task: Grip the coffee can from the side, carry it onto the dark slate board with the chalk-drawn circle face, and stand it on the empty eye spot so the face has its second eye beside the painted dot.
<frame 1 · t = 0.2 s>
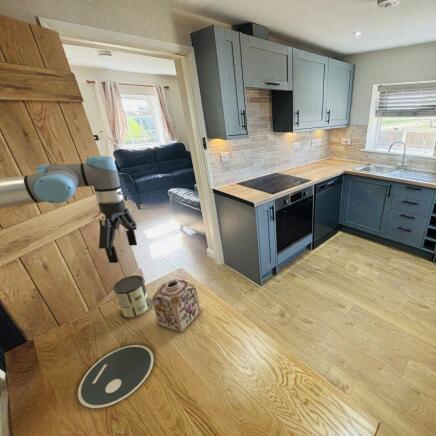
hand: (124, 253, 92), 27 cm above the table, tool pointing down, fingers open, 13 cm apart
coffee can: (137, 309, 101), on the table
decorative jar: (180, 318, 97), on the table
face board: (118, 373, 76), on the table
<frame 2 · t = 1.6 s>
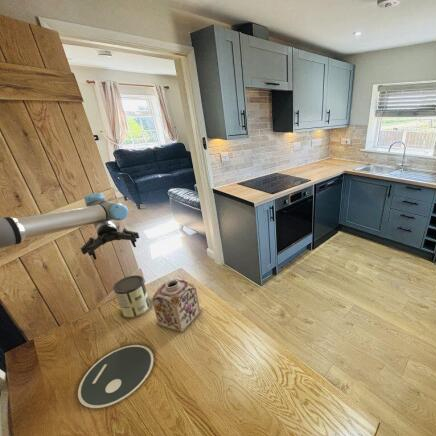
hand: (115, 250, 96), 26 cm above the table, tool horizontal, fingers open, 13 cm apart
nothing on the table moved.
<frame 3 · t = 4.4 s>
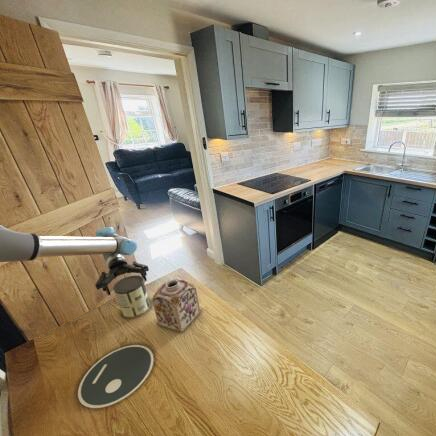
hand: (127, 285, 103), 8 cm above the table, tool horizontal, fingers open, 13 cm apart
nothing on the table moved.
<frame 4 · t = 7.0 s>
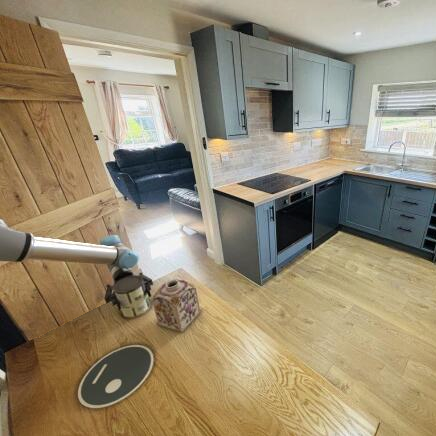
hand: (135, 300, 95), 8 cm above the table, tool horizontal, fingers closed on coffee can, 10 cm apart
coffee can: (137, 309, 101), on the table, touching gripper
everything else where it was.
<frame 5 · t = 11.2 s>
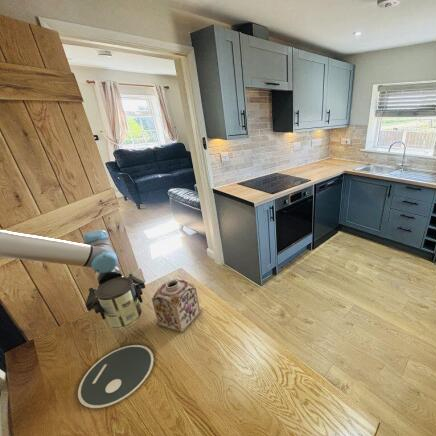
hand: (122, 307, 79), 18 cm above the table, tool horizontal, fingers closed on coffee can, 10 cm apart
coffee can: (125, 318, 85), point 10 cm above the table, touching gripper
everything else where it was.
when the fingers open (9 cm above the table, at t = 15.7 s): coffee can stays where it is, resting on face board.
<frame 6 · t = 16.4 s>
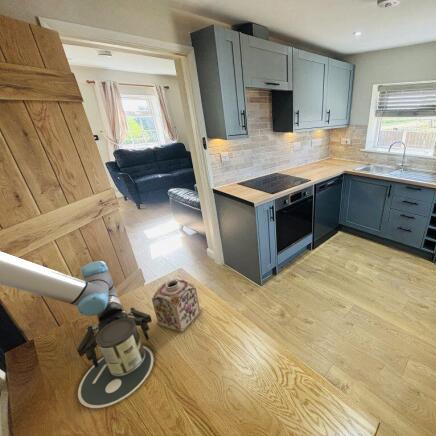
hand: (122, 349, 74), 9 cm above the table, tool horizontal, fingers open, 13 cm apart
coffee can: (128, 361, 80), point 1 cm above the table, touching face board
everything else where it was.
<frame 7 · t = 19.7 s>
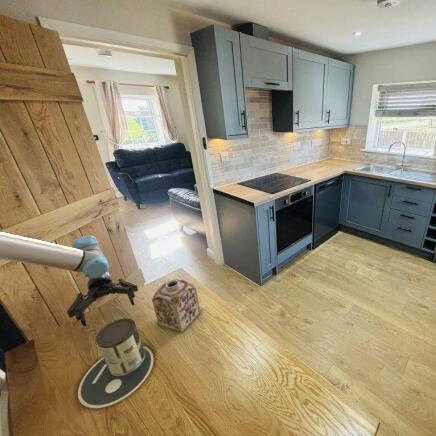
hand: (109, 312, 80), 15 cm above the table, tool horizontal, fingers open, 13 cm apart
nothing on the table moved.
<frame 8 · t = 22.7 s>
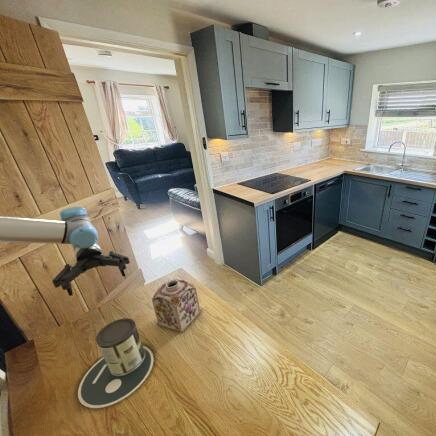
hand: (97, 282, 75), 28 cm above the table, tool horizontal, fingers open, 13 cm apart
nothing on the table moved.
at the end: coffee can 0.0 cm from the target spot on the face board, point 0.5 cm above the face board's base; coffee can tilted 0°; the gripper is holding nothing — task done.
